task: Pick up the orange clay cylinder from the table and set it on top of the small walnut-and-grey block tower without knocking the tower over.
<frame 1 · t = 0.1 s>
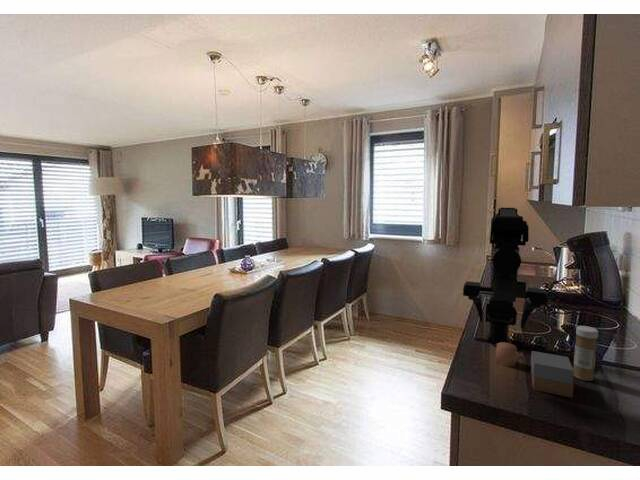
hand: (501, 325, 91), 14 cm above the worktop, tool pointing down, fingers open, 9 cm apart
grey top block: (550, 373, 89), point 3 cm above the worktop, touching walnut base block
sprinkles bottle: (582, 377, 93), on the worktop
orange clay cylinder: (505, 362, 101), on the worktop
walnut base block: (550, 386, 89), on the worktop, touching grey top block
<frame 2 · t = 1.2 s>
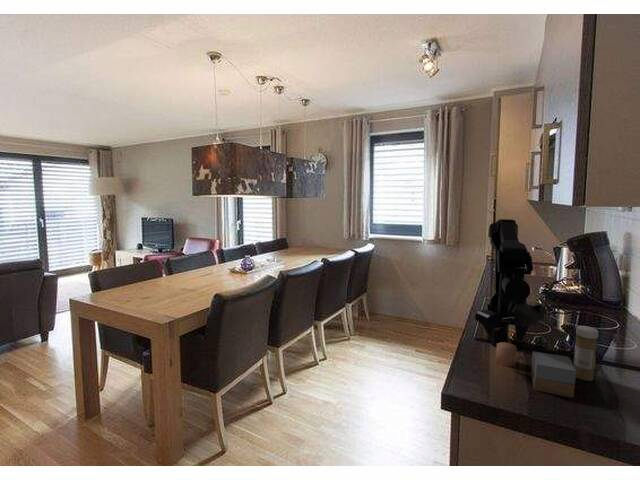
hand: (506, 344, 101), 5 cm above the worktop, tool pointing down, fingers open, 9 cm apart
nothing on the worktop moved.
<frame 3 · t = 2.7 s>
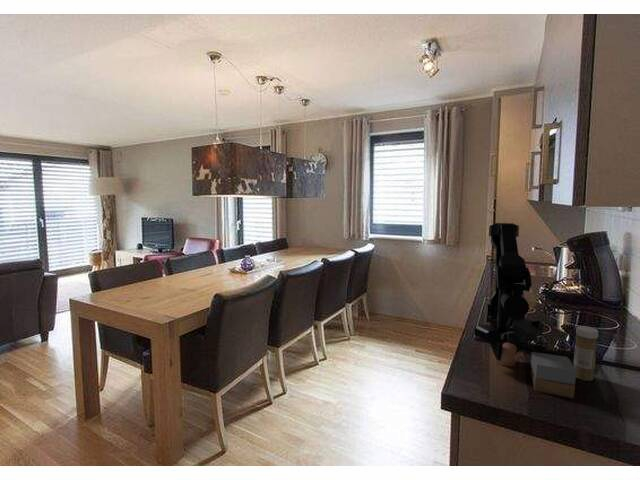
hand: (505, 358, 101), 1 cm above the worktop, tool pointing down, fingers closed on orange clay cylinder, 5 cm apart
orange clay cylinder: (505, 362, 101), on the worktop, touching gripper
everything else where it was.
when the fingers open (9 cm above the worktop, at t = 6.4 s): orange clay cylinder drops 2 cm, resting on grey top block.
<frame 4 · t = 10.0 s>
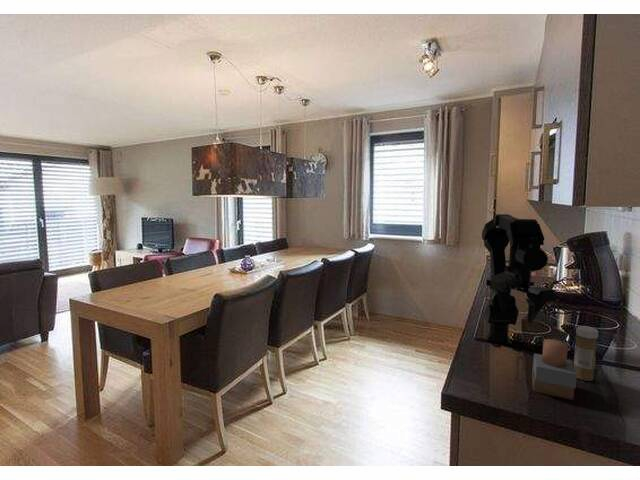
hand: (516, 316, 101), 13 cm above the worktop, tool pointing down, fingers open, 9 cm apart
grey top block: (553, 376, 87), point 3 cm above the worktop, touching orange clay cylinder, walnut base block
orange clay cylinder: (553, 362, 87), point 7 cm above the worktop, touching grey top block
everything else where it was.
at the end: orange clay cylinder 0.4 cm off-centre on the grey top block, point 3.5 cm above the grey top block's base; grey top block 0.3 cm off-centre on the walnut base block, point 3.5 cm above the walnut base block's base; the gripper is holding nothing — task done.
